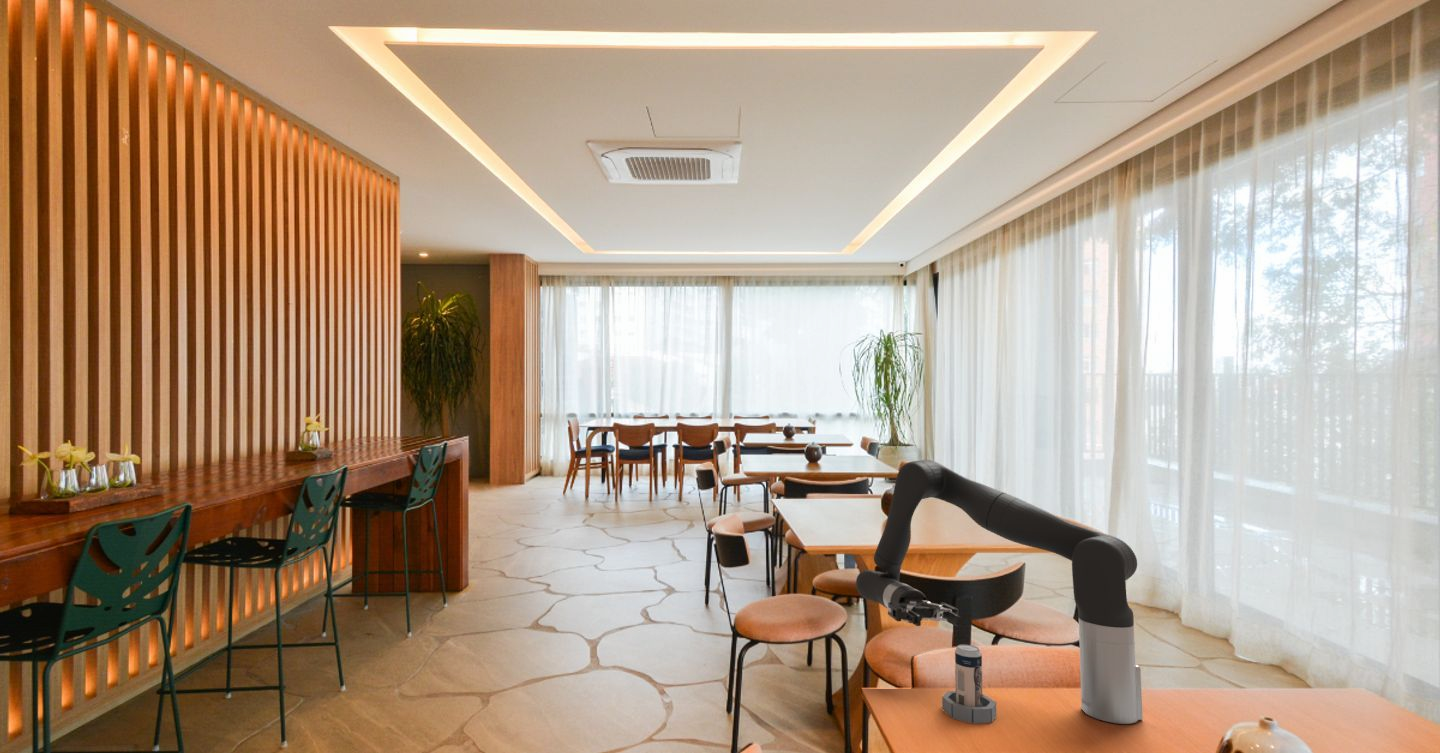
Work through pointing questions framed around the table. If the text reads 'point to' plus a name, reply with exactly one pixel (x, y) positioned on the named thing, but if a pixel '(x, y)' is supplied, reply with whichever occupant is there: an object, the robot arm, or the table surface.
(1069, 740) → the table surface
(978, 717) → the holder ring
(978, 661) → the beer can
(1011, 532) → the robot arm
